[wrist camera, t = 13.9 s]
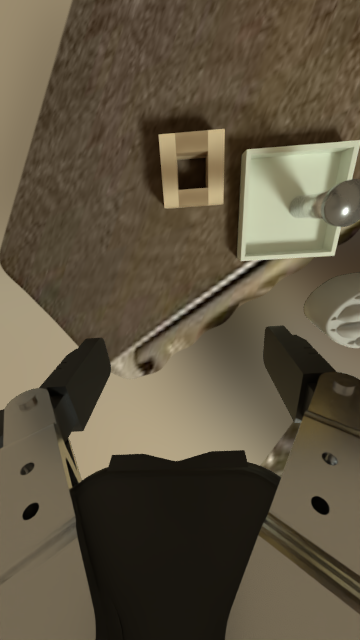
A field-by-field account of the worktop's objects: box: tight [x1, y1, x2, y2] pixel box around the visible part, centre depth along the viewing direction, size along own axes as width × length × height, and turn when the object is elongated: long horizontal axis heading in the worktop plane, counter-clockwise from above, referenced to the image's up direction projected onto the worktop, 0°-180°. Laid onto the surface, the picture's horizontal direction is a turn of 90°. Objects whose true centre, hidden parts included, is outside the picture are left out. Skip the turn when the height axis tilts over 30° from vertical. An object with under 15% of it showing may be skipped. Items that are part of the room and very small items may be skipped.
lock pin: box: [289, 179, 360, 227], centre depth 28 cm, size 4×4×11 cm
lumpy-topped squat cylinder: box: [304, 272, 360, 348], centre depth 36 cm, size 10×13×9 cm
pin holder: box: [159, 129, 225, 208], centre depth 31 cm, size 8×8×4 cm
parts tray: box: [237, 140, 360, 261], centre depth 32 cm, size 14×14×3 cm
